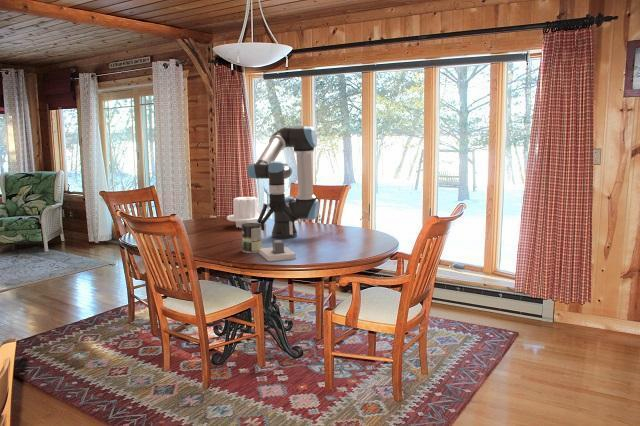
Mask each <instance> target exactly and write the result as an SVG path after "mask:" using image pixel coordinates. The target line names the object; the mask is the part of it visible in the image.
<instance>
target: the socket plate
mask: <svg viewBox="0 0 640 426" xmlns="http://www.w3.org/2000/svg"><path fill="white" fill-rule="evenodd" d="M258 253H259V255H261V257H263V258H264V259H265V260H266V261H267V262H276V261H288V260H296V259H297V253H296V252H294V251H293V250H292V249H290V248H289V247H287V246H285V245H284V253H279V254H273V246H271V247H262V248H260V249H259V252H258Z"/></svg>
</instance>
